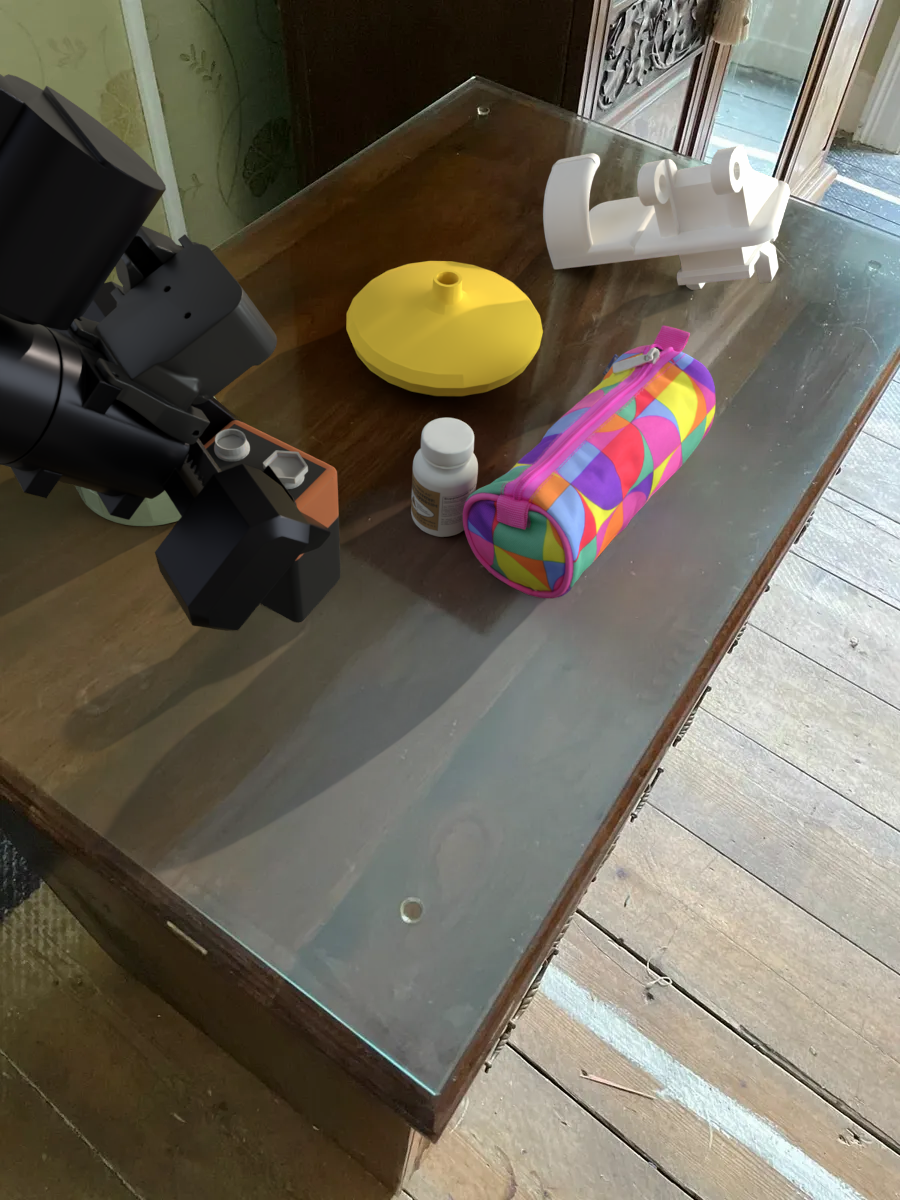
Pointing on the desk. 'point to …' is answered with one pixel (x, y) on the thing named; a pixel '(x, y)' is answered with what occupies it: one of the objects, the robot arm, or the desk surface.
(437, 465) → the pill bottle
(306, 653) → the desk surface
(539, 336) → the vase
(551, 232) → the tape dispenser
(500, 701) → the desk surface
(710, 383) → the pencil case
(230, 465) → the battery
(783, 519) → the desk surface
